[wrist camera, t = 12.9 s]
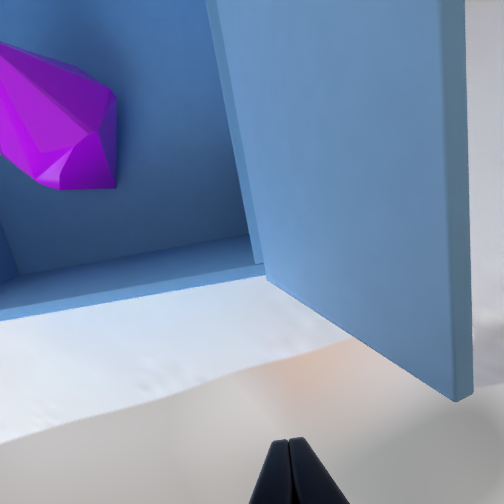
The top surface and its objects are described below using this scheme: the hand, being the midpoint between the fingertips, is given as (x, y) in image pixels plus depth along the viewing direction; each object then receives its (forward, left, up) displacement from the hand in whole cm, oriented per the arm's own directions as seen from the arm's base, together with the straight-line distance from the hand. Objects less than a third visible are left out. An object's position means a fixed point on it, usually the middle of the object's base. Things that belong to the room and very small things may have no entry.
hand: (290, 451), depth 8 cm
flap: (-11, +1, -1) cm, 11 cm away
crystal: (-11, -8, -11) cm, 18 cm away
